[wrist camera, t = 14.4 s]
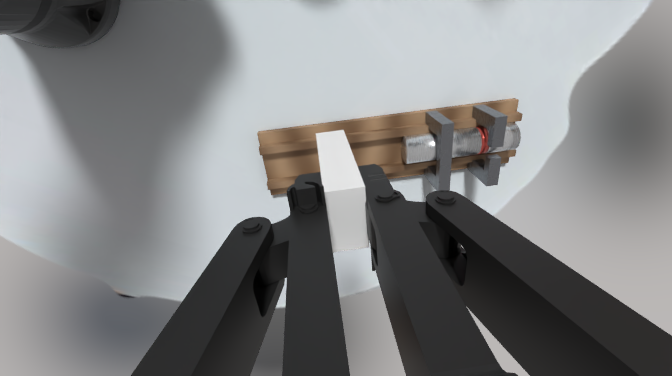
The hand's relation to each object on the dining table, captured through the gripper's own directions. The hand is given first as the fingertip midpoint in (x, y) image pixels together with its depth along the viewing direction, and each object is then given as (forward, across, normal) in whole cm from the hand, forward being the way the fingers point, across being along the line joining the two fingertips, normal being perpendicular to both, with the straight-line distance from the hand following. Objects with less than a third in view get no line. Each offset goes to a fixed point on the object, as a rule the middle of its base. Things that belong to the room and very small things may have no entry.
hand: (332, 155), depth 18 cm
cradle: (+29, +10, -12) cm, 33 cm away
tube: (+28, +20, -12) cm, 37 cm away
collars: (+28, +20, -12) cm, 36 cm away
